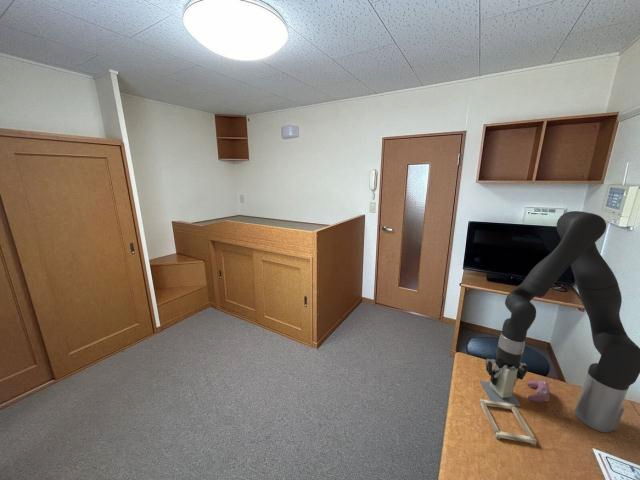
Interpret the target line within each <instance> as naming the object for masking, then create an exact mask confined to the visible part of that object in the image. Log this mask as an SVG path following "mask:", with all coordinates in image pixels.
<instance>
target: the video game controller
mask: <svg viewBox="0 0 640 480" xmlns="http://www.w3.org/2000/svg"><path fill="white" fill-rule="evenodd" d="M526 385H527V386H528V387H529V386H530V388H532V389H535V393H534V394H529V395H527V399H528V400H529V401H530V402H534V403H542V402H547V401H549V400H550V386H549V384H548V383H547V382H545V381H544V380H541V379H538V380H532V381H531V380H530V381H528V382H527V383H526Z"/></svg>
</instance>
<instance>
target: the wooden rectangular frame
mask: <svg viewBox="0 0 640 480" xmlns="http://www.w3.org/2000/svg"><path fill="white" fill-rule="evenodd" d="M478 404H479V406H480V407H481V408H482V411H483V412H484V414H485V416H486V418H487V421H488V422H489V425H490V426H491V428H492V431H493V433H494V438H495V439H496V440H501V438H502V439H507V440H513V441H517V442H524V443H529V444H530V446H537V442H538V440H537V439H536V437H535V435H534V434H533V432H532V430H531V429H530V427H529V425H528V424H527V423H526V421H525V419H524V418H523V416H522V415H521V413H520V411H519V410H518V407H517V406H515V405H514V404H509V403H502V402H495V401H490V400H489V399H488V400H487V399H481V398H479V402H478ZM488 406H489V407H495V408H500V409H506V410H507V409H508V410H510V412H512V413H513V415H514V416H515V418H516V419H517V421H518V422H519V425H520V426H521V427H522V429H523V431H524V432H525V434H526V435H525V434H520V433H519V434H517V433H512V432H506V431H501V430H499V428H498V425H497V424H496V421H495V419H494V418H493V415H492V414H491V412H490V410H489V408H488Z"/></svg>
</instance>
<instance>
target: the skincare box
mask: <svg viewBox="0 0 640 480" xmlns="http://www.w3.org/2000/svg"><path fill="white" fill-rule="evenodd" d="M495 364H496V363H494V364H493V366H494V365H495ZM496 367H497V368H498V366H497V365H496ZM498 369H499V368H498ZM517 371H518V368H517V369H516V368H515V369H511V367H507V368H504V369H503V372H502V374H499V375H498V377H497V378H498V379H497V383H496V385H493V384H492V382H491V381H490V382H491V383H490V386H491V387H492V388H493V389H494V390H495V391H496V392H497V393H498V394H499V395H500V396H501V397H502V398H506V397H512V393H513V392H514V388H515V386H514V384H515V385H516V382H515V380H516V375H517ZM516 381H517V380H516ZM513 394H514V393H513Z"/></svg>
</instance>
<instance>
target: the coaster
mask: <svg viewBox="0 0 640 480" xmlns="http://www.w3.org/2000/svg"><path fill="white" fill-rule="evenodd" d="M479 383H480V384H481V387H482V388H483V390H484V392H485V394H486V396H487V398H488V400H489V401H495V402H502V403H509V404H514V405H515V407H516V408H521V407H522V405H521V403H520V401H519V400H518V399H517V397H516V396H515V394H514V393H512V397H506V398H502V397H501V396H500V395H499V394H498V393H497V392H496V391H495V390H494V389H493V388H492V387H491V386H490V383H491V381H483V380H480V381H479Z"/></svg>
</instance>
